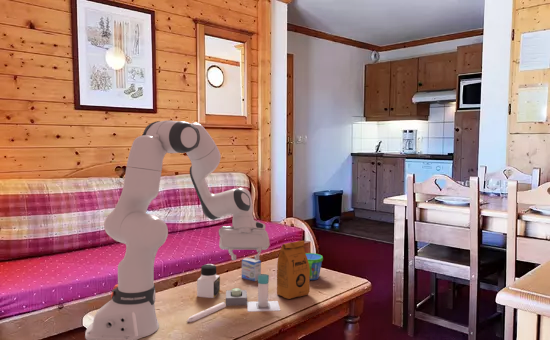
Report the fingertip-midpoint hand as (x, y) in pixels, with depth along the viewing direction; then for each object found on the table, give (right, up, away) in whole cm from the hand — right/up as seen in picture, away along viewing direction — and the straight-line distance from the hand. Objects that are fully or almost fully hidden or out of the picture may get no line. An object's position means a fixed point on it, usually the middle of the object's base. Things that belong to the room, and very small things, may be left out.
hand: (245, 259), depth 166 cm
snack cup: (+28, -14, +25) cm, 40 cm away
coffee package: (+19, -15, +4) cm, 25 cm away
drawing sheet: (+7, -16, -8) cm, 19 cm away
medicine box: (+1, -14, +23) cm, 27 cm away
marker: (-13, -17, -15) cm, 26 cm away
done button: (-3, -14, -3) cm, 15 cm away
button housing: (-3, -15, -3) cm, 16 cm away
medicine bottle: (-15, -15, +4) cm, 22 cm away
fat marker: (+7, -16, -8) cm, 19 cm away
